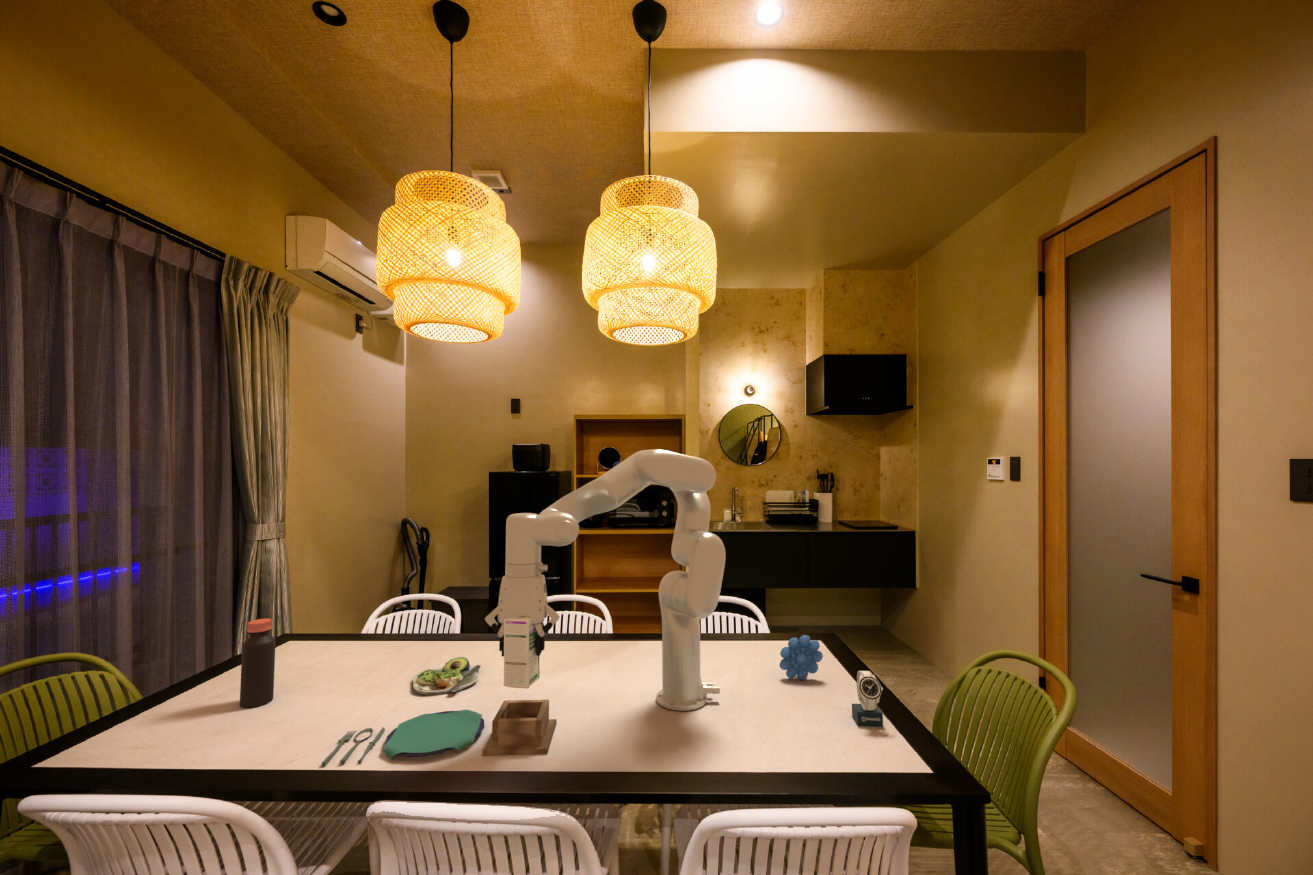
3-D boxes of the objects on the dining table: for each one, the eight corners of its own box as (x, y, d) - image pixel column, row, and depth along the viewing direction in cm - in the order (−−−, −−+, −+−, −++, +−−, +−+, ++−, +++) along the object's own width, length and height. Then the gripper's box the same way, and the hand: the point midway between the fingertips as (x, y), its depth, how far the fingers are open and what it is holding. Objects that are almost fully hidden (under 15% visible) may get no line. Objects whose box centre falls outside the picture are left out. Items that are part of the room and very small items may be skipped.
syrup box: (528, 689, 111) (529, 618, 112) (502, 686, 112) (503, 616, 113) (539, 678, 117) (540, 611, 118) (514, 676, 118) (515, 610, 119)
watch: (860, 730, 117) (858, 679, 117) (850, 713, 125) (848, 665, 125) (886, 731, 116) (884, 679, 117) (874, 714, 124) (873, 666, 125)
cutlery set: (477, 758, 107) (477, 746, 107) (313, 776, 101) (313, 764, 102) (490, 714, 126) (490, 704, 126) (353, 728, 121) (353, 717, 121)
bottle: (276, 702, 133) (279, 620, 134) (242, 711, 128) (245, 626, 129) (269, 694, 138) (272, 615, 139) (236, 703, 133) (240, 621, 134)
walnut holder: (556, 723, 121) (556, 696, 121) (547, 753, 108) (547, 723, 108) (498, 725, 120) (498, 697, 121) (482, 755, 107) (482, 725, 108)
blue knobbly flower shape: (820, 674, 149) (819, 630, 150) (825, 683, 142) (824, 638, 143) (777, 672, 150) (776, 629, 151) (781, 682, 143) (780, 637, 144)
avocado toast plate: (486, 693, 139) (486, 675, 139) (410, 705, 132) (411, 686, 132) (479, 667, 156) (480, 651, 157) (413, 677, 149) (413, 660, 150)
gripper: (565, 566, 120) (564, 647, 119) (487, 567, 120) (486, 648, 118) (560, 573, 113) (560, 659, 112) (478, 574, 112) (476, 660, 111)
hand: (522, 653), depth 115 cm, fingers closed on syrup box, 6 cm apart
